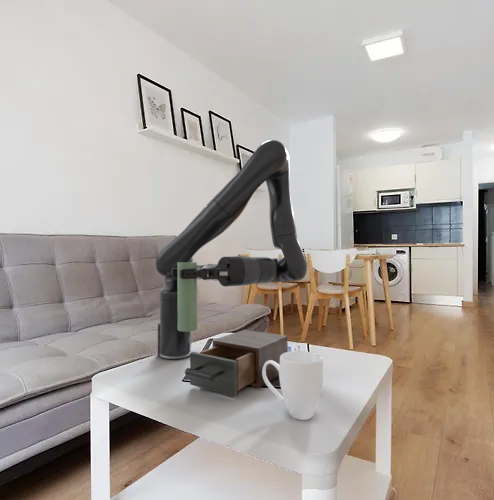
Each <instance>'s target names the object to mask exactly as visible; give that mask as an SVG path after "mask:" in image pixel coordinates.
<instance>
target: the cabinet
mask: <svg viewBox="0 0 494 500" xmlns="http://www.w3.org/2000/svg"><path fill="white" fill-rule="evenodd" d="M288 338H289V337H288V335H283V334H277V333H271V332H264V331H258V330H257V331H256V330H251V329H250V330H249V329H242V330H239V331H236V332H233V333H230V334H227V335H224V336H221V337H219V338H215V339H212V347H215V346H218V345H223V346H228V347H233V348H239V349H244V350H250V351H255V352H256V380H255V381H254V382H252V383H250V384H248V385H247V386H248V387H253V388H257V389H260V388H262V387H263V386H265V385H266V383H265V382H264V380H263V376H262V369H263V366H264V364H265V363H266V362H267V361H269V360H273V361H275V362H276V363H278V364H279V365H280V356H281V355H282V354H283V353H286V352H289V351H288V350H289V349H288V345H289V343H288V341H289V340H288ZM266 376H267V379H268V381H269V382H270V383H271V382H272V381H273V380H275V379H276V378H279V371H278V370H277V369H276V367H275V366H274V365H272V364H268V365H267V366H266Z"/></svg>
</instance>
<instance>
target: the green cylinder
mask: <svg viewBox="0 0 494 500" xmlns="http://www.w3.org/2000/svg"><path fill="white" fill-rule="evenodd" d="M197 265H198V262H197V261H193V262H177V304H178V331H184V332H188V331H191V332H195V331H197V330H198V279H196V278H194V279H181V278H180V270H181V269H196V268H197ZM196 271H197V270H196Z"/></svg>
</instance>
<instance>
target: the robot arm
mask: <svg viewBox="0 0 494 500" xmlns="http://www.w3.org/2000/svg"><path fill="white" fill-rule="evenodd" d="M290 164H291V158H290V154H289V152H288V150H287V148H286V146H285V145H284V144H283V143H282V142H281V141H279V140H278V139H277V140H276V139H270V140H266V141H264V142H262V143H261V144H260V145H259V146H258V147H257V148H256V150H254V152H253V153H252V154H251V156H250V157H249V158H248V160H247V161H246V162H245V163H244V165H242V167H241V168H240V170H239V171H238V172H237V173H236V174H235V175H234V176H233V177H232V178H231V179H230V180H229V181H228V182H227V184H225V185H224V187H223V188H222V189H220V190H219V191H218V193H216V194H215V196H213V197H212V199H210V200H209V202H208V203H207V204H206V205H205V206H204V207H203V208H202V210H201V211H200V212H199V213H198V214H197V215H196V216H195V217H194V218H193V220H191V222H190V223H189V224H188V225H187V226H186V228H185V229H183V230H182V231H181V233H179V234H178V235H177V236H176V237H175V238H174V239H173V240H171V241H170V242H169V243H168V244H167V245H166V246H164V247H163V248H162V249H161V250H160V251H159V252H158V254H157V256H156V257H155V263H154V266H155V269H156V271H157V273H158V274H159V275H160V276H162V277H164V284H163V286H162V287H161V289H160V291H159V323H158V324H157V355H158V356H159V357H160V358H162V359H165V360H179V359H180V360H181V359H185V358H188V357H190V353H191V352H192V350H191V349H192V342H191V341H192V340H191V339H192V338H191V337H192V335H191V334H192V333H191V332H192V331H188V332H184V331H178V304H177V262H194V260H193V257H194V255H196V253H197V252H198V251H199V250H200V249H201V248H203V247H204V246H205V245H207V244H209V243H210V242H212V241H213V240H214V239H216V238H218V237H219V236H220V235H222V234H223V233H224V232H225V231H227V230H228V229H229V228H230V227H231V226H232V224H233V223H235V222H236V221H237V219H238V218H239V217H240V216H241V215H242V213H243V212H244V210H245V209H246V207H247V206H248V204H249V202H250V201H251V198H252V197H253V195H254V194H255V192H256V191H257V190H258V189H259V187H261V186H262V185H263V184H264V183H265V184H266V187H267V191H268V199H269V200H268V201H269V224H270V225H269V226H270V234H271V240H272V245H273V247H274V248H275V249H278V250H281V253H282V255H283V257H275V258H271V257H268V256H246V255H245V256H241V255H240V256H221V258H220V259H219V260H218V262H217V263H215V264H214V263H207V264H197V268H196V269H181V270H180V278H181V279H194V278H196V279H197V280H203V281H214V282H216V281H217V282H219V284H220V285H221V286H222V287H225V288H226V287H240V286H250V285H257V284H267V283H287V282H288V283H289V282H297V281H301V280H304V278H305V277H306V276H307V275H306V274H307V272H308V262H307V259H306V256H305V254H304V252H303V251H304V250H303V249H302V246H301V244H300V242H299V240H298V233H297V228H296V221H295V215H294V210H293V204H292V198H291V188H290V166H291V165H290ZM196 270H197V271H196Z"/></svg>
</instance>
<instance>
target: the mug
mask: <svg viewBox="0 0 494 500" xmlns="http://www.w3.org/2000/svg"><path fill="white" fill-rule="evenodd" d="M268 364H272V365H274V366H275V367H276V369H277V370H278V371H279V376H278V379H279V386H280V390H281V393H280V392H279V391H278V390H277V389H276V388H275V387H274V386H273V384H272V383H271V381H270V382H269V381H268V379H267V376H266V366H267V365H268ZM262 376H263V380H264V382H265V383H266V384H265V385H266V386H267V388H268V389H269V390H270V391H271V392H272V393H273V394H274V395H275V396H276V397H277V398H278V399H279V400H281V401H282V402H284V403H285V404H286V407H287V410H288V412H289V415H290V417H291V418H293V419H295V420H299V421H306V420H310V419H312V418H313V415H314V414H315V411H316V408H317V405H318V402H319V399H320V397H321V394H322V392H323V391H322V390H323V386H324V360H323V357H322V356H321V354H319V353H315V352H312V351H306V350H291V351H288V352H286V353H283V354H282V355H281V356H280V365H279V364H278V363H276V362H275V361H273V360H269V361H267V362H266V363H265V364H264V366H263V369H262Z"/></svg>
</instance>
